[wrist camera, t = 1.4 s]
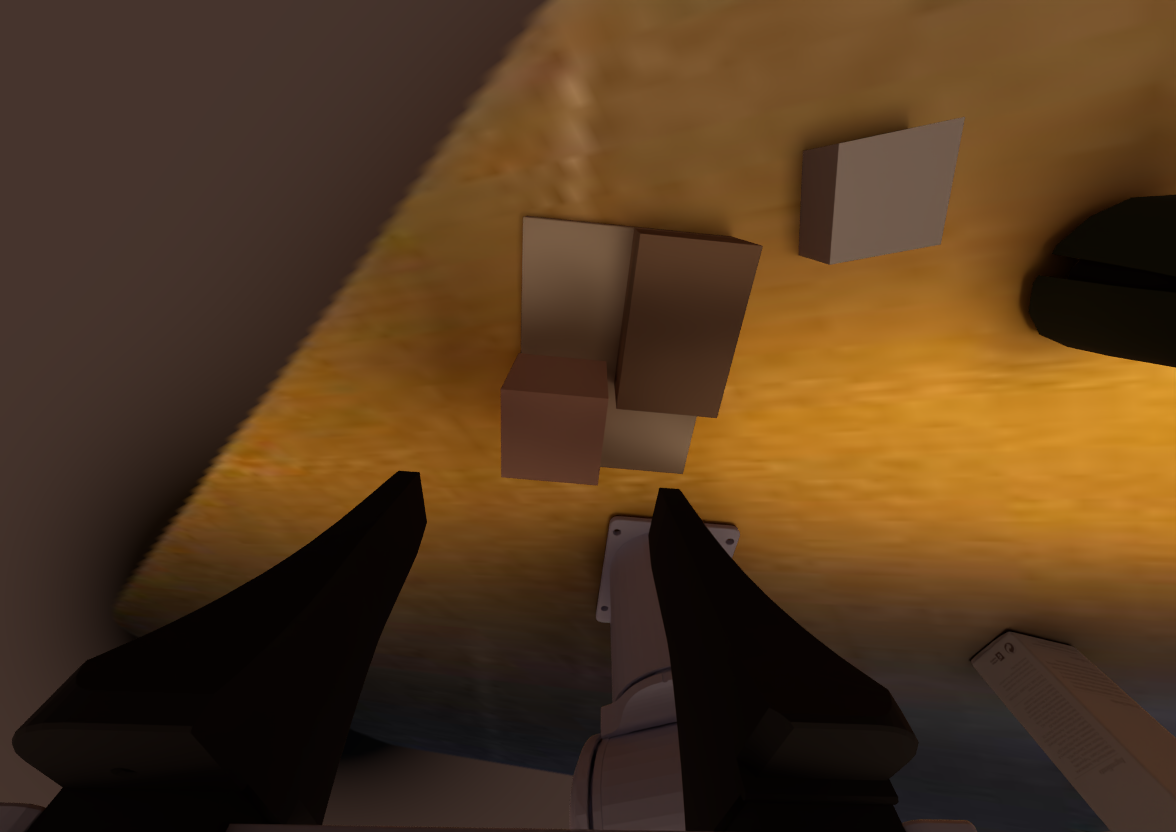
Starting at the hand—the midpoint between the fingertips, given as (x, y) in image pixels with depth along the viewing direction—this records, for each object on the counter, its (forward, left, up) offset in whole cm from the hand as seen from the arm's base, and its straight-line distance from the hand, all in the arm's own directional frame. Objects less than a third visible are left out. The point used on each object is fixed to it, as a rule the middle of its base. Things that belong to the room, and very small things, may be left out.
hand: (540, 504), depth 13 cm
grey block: (+9, -11, -10) cm, 18 cm away
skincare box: (-19, -35, -10) cm, 41 cm away
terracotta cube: (-1, 0, -9) cm, 9 cm away
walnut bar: (+4, -5, -10) cm, 12 cm away
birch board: (+1, -2, -10) cm, 10 cm away
